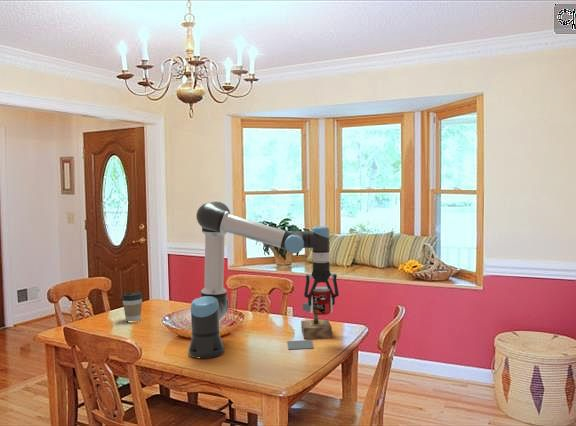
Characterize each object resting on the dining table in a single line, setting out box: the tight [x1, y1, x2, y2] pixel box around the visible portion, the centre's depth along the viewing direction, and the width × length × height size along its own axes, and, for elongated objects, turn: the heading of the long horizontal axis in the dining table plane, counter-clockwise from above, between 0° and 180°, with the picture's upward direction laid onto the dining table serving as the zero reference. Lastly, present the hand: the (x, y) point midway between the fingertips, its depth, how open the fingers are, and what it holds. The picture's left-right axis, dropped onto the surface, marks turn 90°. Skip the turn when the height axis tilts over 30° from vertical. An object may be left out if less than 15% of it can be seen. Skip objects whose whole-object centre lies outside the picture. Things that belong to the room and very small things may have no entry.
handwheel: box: [302, 301, 319, 323], centre depth 239 cm, size 12×5×9 cm, turn 46°
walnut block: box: [300, 319, 333, 340], centre depth 239 cm, size 13×13×5 cm
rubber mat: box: [286, 339, 315, 351], centre depth 224 cm, size 11×11×1 cm
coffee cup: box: [121, 291, 144, 322], centre depth 272 cm, size 11×11×15 cm
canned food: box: [312, 286, 331, 316], centre depth 223 cm, size 8×8×11 cm
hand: (321, 312), depth 223 cm, fingers closed on canned food, 8 cm apart
